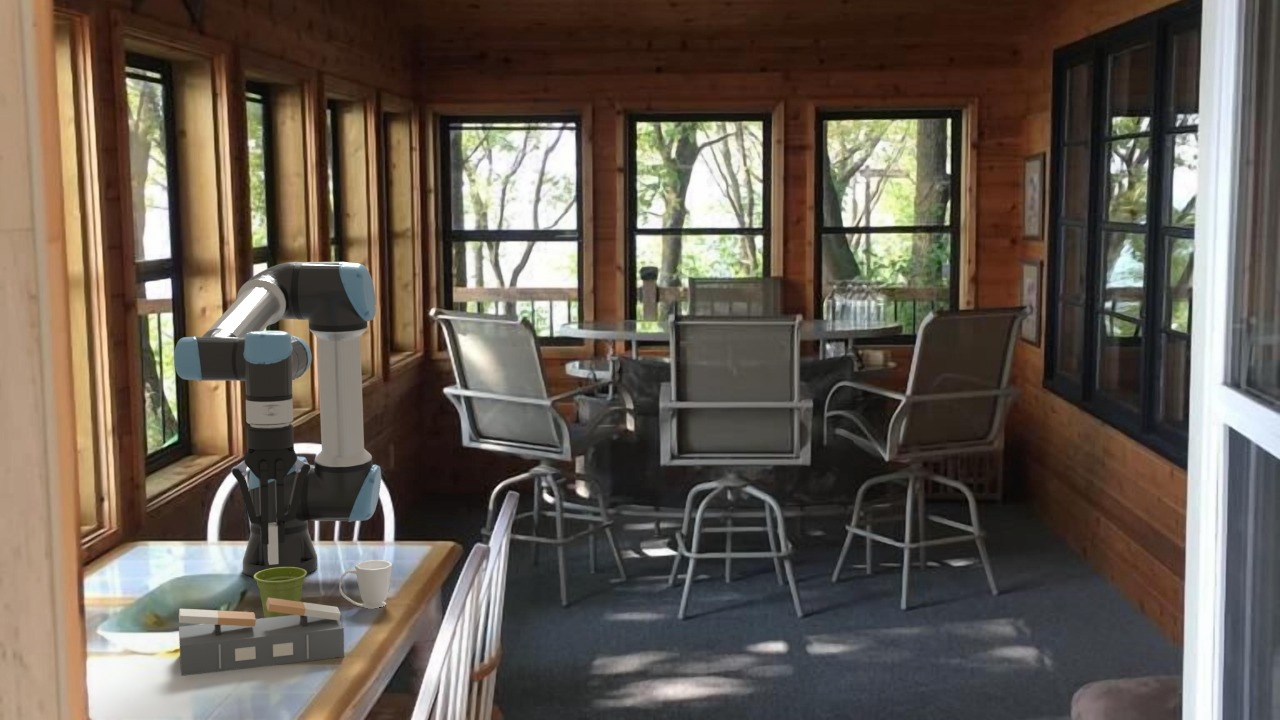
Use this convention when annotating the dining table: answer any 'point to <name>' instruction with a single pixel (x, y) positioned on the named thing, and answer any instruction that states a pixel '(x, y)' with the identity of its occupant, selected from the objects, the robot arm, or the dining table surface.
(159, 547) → the dining table surface
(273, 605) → the rocker
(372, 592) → the cup
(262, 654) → the switch unit
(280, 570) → the plant pot
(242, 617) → the rocker
